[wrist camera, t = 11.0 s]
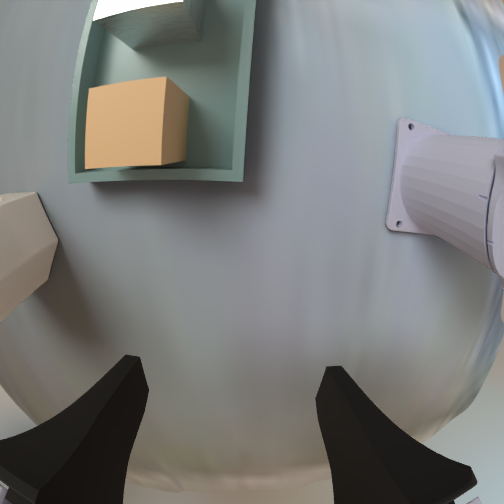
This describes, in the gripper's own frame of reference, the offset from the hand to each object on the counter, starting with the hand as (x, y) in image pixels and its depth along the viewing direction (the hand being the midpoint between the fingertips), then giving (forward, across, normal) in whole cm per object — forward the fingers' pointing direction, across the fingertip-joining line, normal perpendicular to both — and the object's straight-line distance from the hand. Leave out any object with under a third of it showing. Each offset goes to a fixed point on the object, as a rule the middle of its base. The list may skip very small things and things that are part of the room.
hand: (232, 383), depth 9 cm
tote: (+10, +6, -14) cm, 18 cm away
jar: (+10, +19, -2) cm, 22 cm away
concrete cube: (+9, +6, -18) cm, 21 cm away
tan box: (+9, +6, -10) cm, 14 cm away
